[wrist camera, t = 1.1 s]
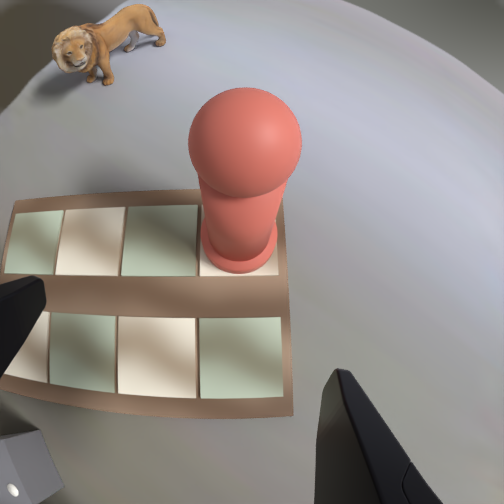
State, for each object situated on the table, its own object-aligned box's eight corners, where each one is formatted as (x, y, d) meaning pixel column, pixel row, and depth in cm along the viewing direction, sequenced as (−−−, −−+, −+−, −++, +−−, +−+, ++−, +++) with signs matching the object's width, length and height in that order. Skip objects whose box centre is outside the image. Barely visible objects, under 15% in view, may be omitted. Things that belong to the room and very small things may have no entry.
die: (64, 486, 16) (33, 506, 12) (23, 488, 16) (-10, 504, 11) (40, 429, 18) (2, 439, 13) (1, 435, 17) (-36, 443, 12)
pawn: (277, 273, 22) (331, 166, 9) (201, 274, 21) (164, 164, 9) (273, 205, 23) (310, 64, 11) (203, 205, 23) (181, 62, 11)
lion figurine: (94, 113, 27) (65, 46, 19) (63, 102, 28) (34, 42, 19) (177, 35, 32) (171, -25, 23) (145, 29, 32) (135, -27, 24)
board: (290, 412, 20) (294, 416, 19) (2, 387, 18) (-8, 387, 17) (279, 196, 25) (282, 187, 24) (22, 206, 24) (14, 199, 22)
